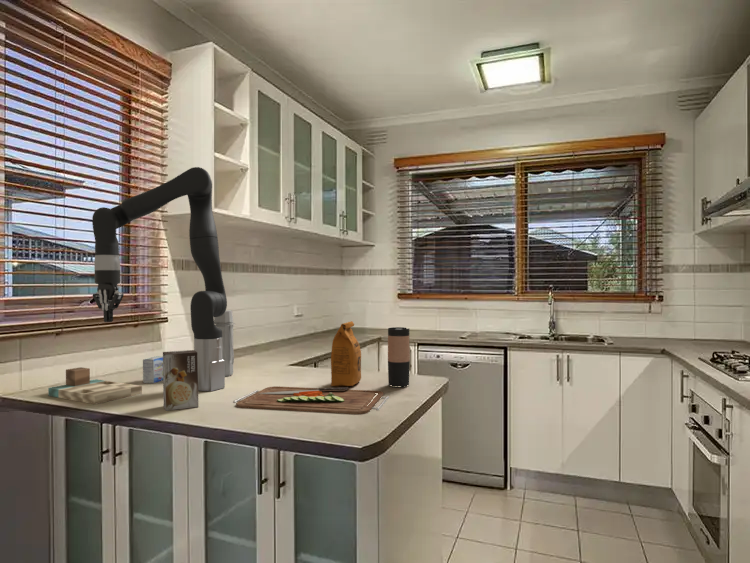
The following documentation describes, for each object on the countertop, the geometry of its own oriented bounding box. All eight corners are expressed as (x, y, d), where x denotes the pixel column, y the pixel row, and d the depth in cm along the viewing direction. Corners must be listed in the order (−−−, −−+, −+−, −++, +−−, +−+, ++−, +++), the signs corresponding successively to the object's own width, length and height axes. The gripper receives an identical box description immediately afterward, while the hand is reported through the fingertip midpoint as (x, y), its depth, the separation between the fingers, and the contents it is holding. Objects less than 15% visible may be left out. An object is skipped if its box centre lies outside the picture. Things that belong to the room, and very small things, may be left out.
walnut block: (89, 383, 171) (89, 368, 171) (74, 386, 166) (74, 370, 166) (80, 382, 173) (80, 367, 173) (65, 384, 169) (65, 369, 169)
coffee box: (195, 402, 154) (195, 349, 154) (198, 407, 149) (198, 352, 149) (162, 406, 150) (162, 351, 150) (164, 411, 144) (164, 354, 144)
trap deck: (141, 393, 166) (141, 386, 166) (94, 404, 152) (94, 395, 152) (96, 386, 178) (96, 379, 178) (48, 395, 164) (48, 387, 164)
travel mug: (384, 386, 177) (384, 328, 177) (392, 382, 184) (392, 326, 184) (405, 388, 174) (405, 329, 174) (412, 384, 181) (412, 327, 181)
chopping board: (223, 408, 149) (223, 398, 149) (262, 389, 175) (262, 380, 175) (375, 417, 140) (375, 405, 140) (392, 395, 166) (392, 386, 166)
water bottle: (209, 376, 197) (209, 311, 197) (225, 372, 204) (225, 310, 203) (224, 378, 192) (224, 311, 192) (241, 375, 198) (241, 310, 198)
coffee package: (365, 382, 185) (365, 321, 185) (353, 388, 173) (353, 324, 173) (340, 380, 188) (340, 320, 188) (326, 387, 176) (326, 323, 176)
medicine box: (153, 383, 183) (153, 359, 183) (142, 383, 184) (142, 359, 184) (166, 379, 191) (166, 356, 191) (156, 379, 192) (156, 355, 192)
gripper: (131, 268, 169) (131, 321, 169) (105, 270, 175) (105, 320, 175) (110, 268, 162) (111, 323, 162) (83, 269, 168) (84, 322, 168)
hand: (108, 321), depth 168 cm, fingers closed
